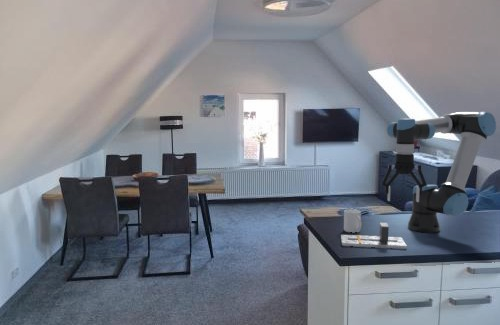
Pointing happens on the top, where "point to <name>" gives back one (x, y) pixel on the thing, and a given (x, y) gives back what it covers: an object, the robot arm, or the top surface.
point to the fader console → (372, 242)
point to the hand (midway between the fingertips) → (402, 201)
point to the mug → (352, 220)
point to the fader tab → (384, 232)
